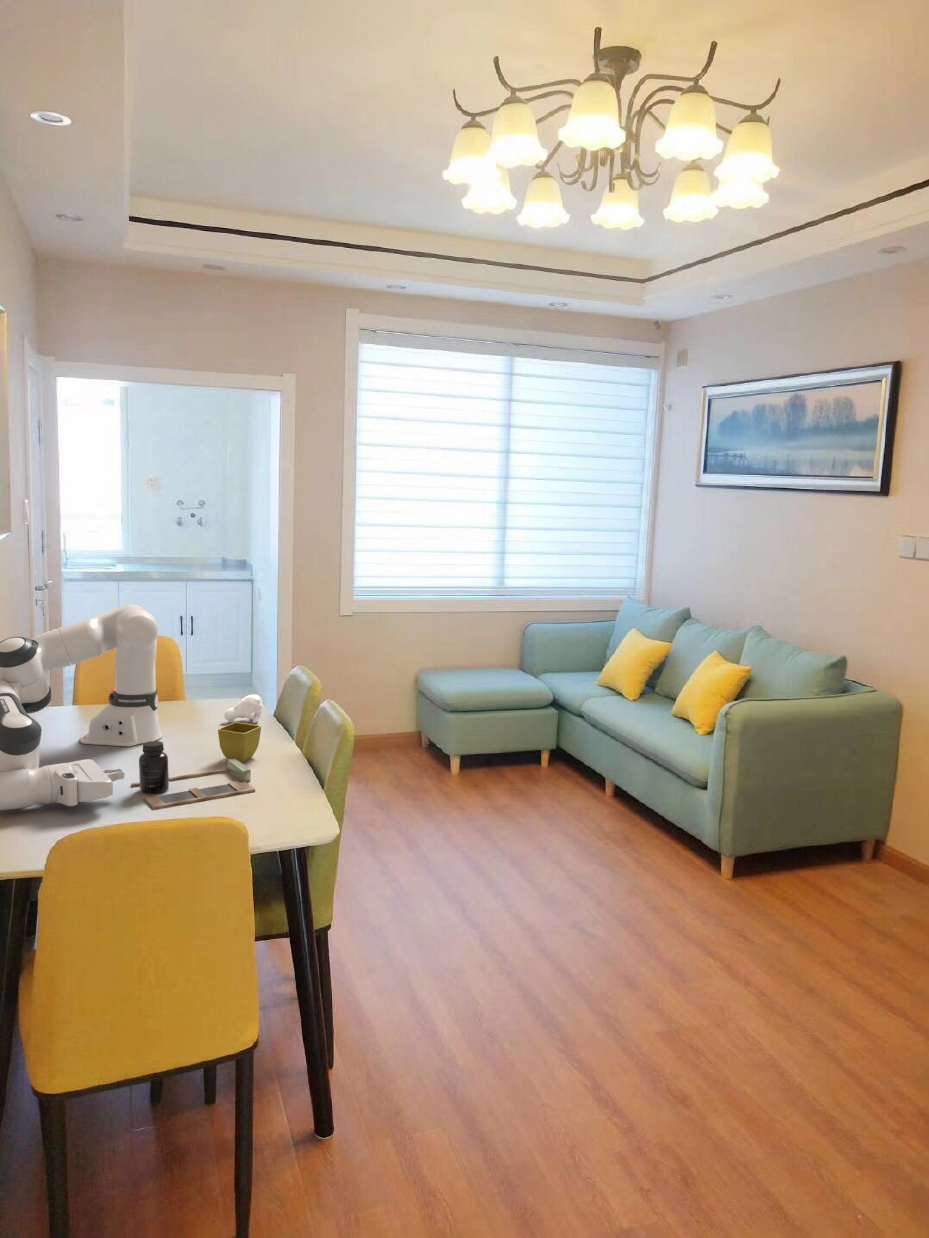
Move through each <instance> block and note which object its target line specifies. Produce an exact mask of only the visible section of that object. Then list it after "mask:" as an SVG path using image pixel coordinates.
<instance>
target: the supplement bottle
mask: <svg viewBox="0 0 929 1238" xmlns="http://www.w3.org/2000/svg"><path fill="white" fill-rule="evenodd" d="M164 750H165V748H164V742H163V741H159V740H155V741H150V742H146V743H142V754H141V755H140V756H139V758H138V769H139V770H138V773H139V775H138V776H139V782H140V786H139V790H140V792H141V793H142V794H145V795H159V794H162V793H165V792H167V791H168V790H169V788H170V783H169V782H170V781H169V778H170V777H169V756H168V755H167V753H166V752H164Z"/></svg>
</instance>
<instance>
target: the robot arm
mask: <svg viewBox="0 0 929 1238" xmlns="http://www.w3.org/2000/svg"><path fill="white" fill-rule="evenodd" d="M158 630H159V628H158V622H157V620H156V619H155V617H154V616H153V615H152V614H151V613H150V612H149V611H147V610H146V609H145V608H143V606H141V605H137V604H133V603H131V604H125V605H122V606H119V607H117V608H113V609H111V610H110V609H109V610H108V611H105V612H103V613H100V614H98V615H96V616H93V617H91V618H88V619H84V620H82V621H79V622H74V623H71V624H68V625H64V626H61V627H58V628H54V629H51V630H48V631H46V632H43V633H41V634H38V635H36V636H34V637H32V638H28V637H25V636H13V637H12V636H11V637H8V638H5V639H3V640H2V641H0V811H9V810H18V809H26V808H30V807H33V806H35V805H39V804H42V805H43V804H45V805H51V804H61V805H64V806H68V807H74V806H77V805H78V804H79V803H85V802H91V801H96V800H103V799H105V798H108V797H110V796H112V795H113V792H114V791H113V790H114V787H113V782H115V781H116V782H117V780H123V779H125V772H124V771H123V770H122V769H121V768H115V769H114V768H101V767H100V766H99V765H98V764H97V763H96V762H95V761H94V760H93V759H86V758H85V759H81V760H75V761H74V760H73V761H71V762H70V761H69V762H63V763H55V764H50V765H49V764H47V765H43V766H41V767H40V751H41V750H40V747H41V744H40V743H41V738H42V726H41V724H40V723H39V722H38V721H37V720H36V719H34V718H33V717H32V716H30V715H29V714H34V713H38V712H40V711H41V710H44V709H45V708H46V707H47V706H48V705H49V704H50V703H51V701H52V690H51V686H50V684H49V679H48V675H47V673H46V672H47V671H53V670H58V669H62V668H66V667H69V666H73V665H76V664H80V663H84V662H86V661H89V660H92V659H95V658H100V657H101V656H103V655H104V654H106V653H108V652H111V651H113V650H115V649H116V653H115V665H114V666H115V667H114V671H115V674H114V675H115V677H114V678H115V688H114V689H112V690H111V691H110V693H109V695H108V696H107V701H108V703H109V704H107V705H106V706H104V707H103V708H102V709H101V710H99V711H98V712H97V713H96V714H94V716H92V718H91V719H90V720H89V721H90V722H89V725H88V730H87V731H85V732H84V733H83V734H82V735H81V736H80V743H81V744H84V745H97V746H99V745H100V746H101V745H102V746H116V747H133V746H137V745H141V744H144V743H146V742H150V741H159V740H160V739H161V738H162V737H163V732H162V729H161V726H160V722H159V716H158V706H159V695H158V689H156V687H157V686H156V685H157V684H156V683H157V682H156V657H157V648H158V647H157V646H158Z"/></svg>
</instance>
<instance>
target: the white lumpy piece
mask: <svg viewBox="0 0 929 1238" xmlns="http://www.w3.org/2000/svg"><path fill="white" fill-rule="evenodd" d="M262 710H263V701H262V699H261V697H260V696H259V695H258V694H249V695H246V696H244V697H243V698H242V699H240V700H239V702H237V703H236V705H234V706H233V707H230V708H227V709H226V710H225V711H224V715H223V716H224V719H225V720H226V721H227V722H228V724H232V723H234V722H235V720H236V719H237V718H240V719H241V718H242V719H245V718H246V719H249V720H252V723H253V724H256V723H257V722H258V721H259V720H260V719H261V716H262ZM230 722H231V723H230Z"/></svg>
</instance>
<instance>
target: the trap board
mask: <svg viewBox="0 0 929 1238" xmlns="http://www.w3.org/2000/svg"><path fill="white" fill-rule="evenodd" d="M223 773H230V774H232V775H233V776H234V777H236V778H237V779H238V780H237V781H231V782H227V784H221V785H216V786H209V787H204V788H198V787H194V788H193V787H192V788H189V789H188V790H186V791H184V790H183V791H179V792H172V793H167V794H161V795H158V794H150V795H146V796H143V800H144V801H145V802H146V803H147V805H148V806H149V807H150V808H152V810H159V809H165V808H168V807H174V806H182V805H187V804H191V803H192V804H193V803H197V802H203V801H210V800H214V799H220V798H226V797H231V796H239V795H243V794H248V793H247V792H250V793H253V791H255V792H256V789H255V787H253V786H252V785H250V784H249V783H248V782H251V781H252V780H251V776H252V775H251V769H250V768H248V766H246V765H244V764H243V763H242V762H240V761H238V760H236V759H227V768H222V769H215V770H209V771H203V772H196V773H191V774H189V773H188V774H183V775H178V776H171V777H169V782H173V781H179V780H186V779H191V778H197V777H198V778H199V777H204V776H210V775H216V774H223ZM130 786H131V788H135V786H136V787H140V781H139V782H132V783H130Z"/></svg>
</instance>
